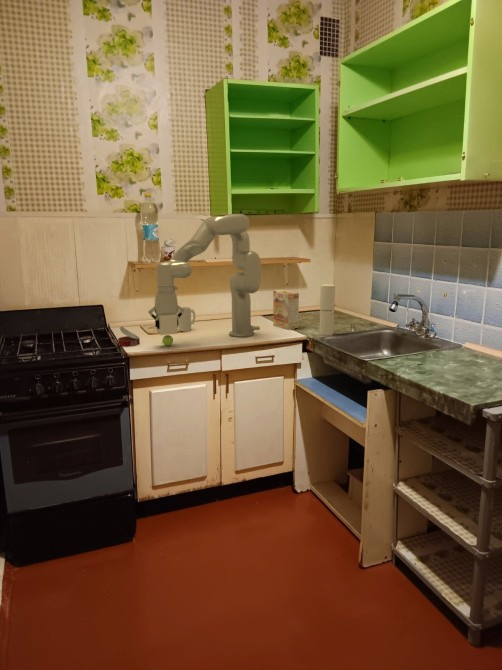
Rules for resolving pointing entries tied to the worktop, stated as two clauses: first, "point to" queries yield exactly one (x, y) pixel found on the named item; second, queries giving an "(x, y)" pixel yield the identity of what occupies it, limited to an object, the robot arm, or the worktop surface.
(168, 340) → the ball
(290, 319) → the coffeecake box
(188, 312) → the mug
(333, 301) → the cylindrical container
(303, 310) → the worktop surface
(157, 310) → the robot arm
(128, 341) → the canned food
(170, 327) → the grey piece
